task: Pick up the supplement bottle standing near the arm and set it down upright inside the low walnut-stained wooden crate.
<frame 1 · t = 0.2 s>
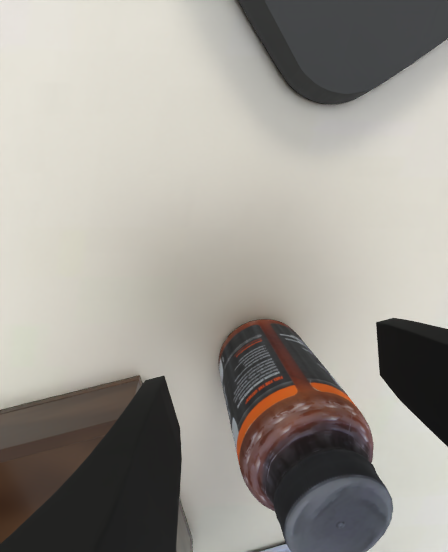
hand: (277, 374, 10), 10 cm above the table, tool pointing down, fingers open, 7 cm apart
crate: (76, 489, 22), on the table
supplement bottle: (259, 354, 21), on the table
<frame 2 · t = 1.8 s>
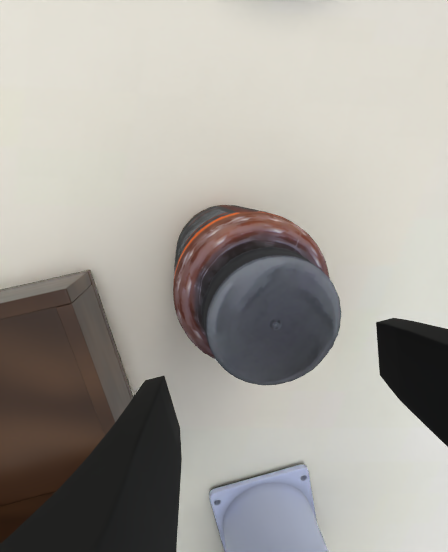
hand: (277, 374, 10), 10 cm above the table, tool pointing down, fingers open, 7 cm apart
crate: (25, 403, 20), on the table
supplement bottle: (223, 251, 20), on the table
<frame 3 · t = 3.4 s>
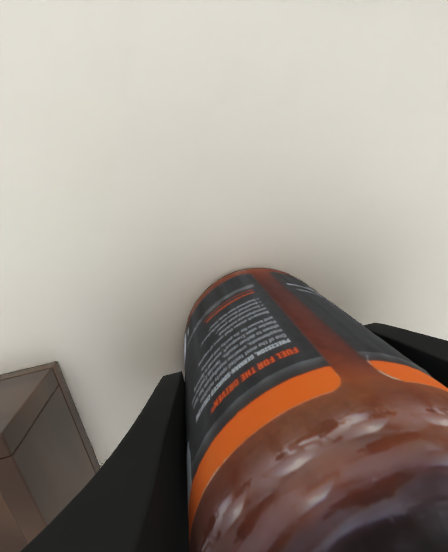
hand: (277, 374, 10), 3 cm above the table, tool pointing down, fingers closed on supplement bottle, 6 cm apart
supplement bottle: (252, 329, 13), on the table, touching gripper
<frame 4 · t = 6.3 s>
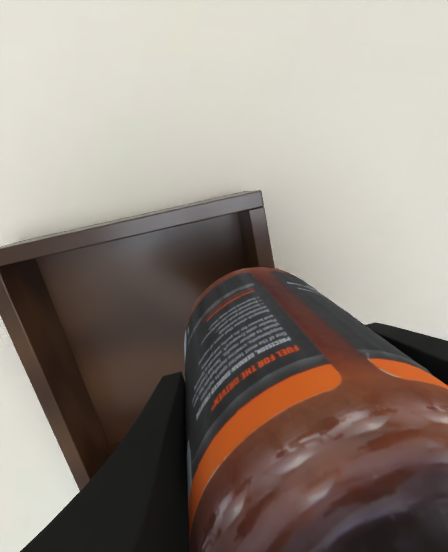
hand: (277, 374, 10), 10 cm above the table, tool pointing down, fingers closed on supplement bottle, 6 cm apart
crate: (168, 332, 20), on the table
supplement bottle: (252, 328, 13), point 7 cm above the table, touching gripper
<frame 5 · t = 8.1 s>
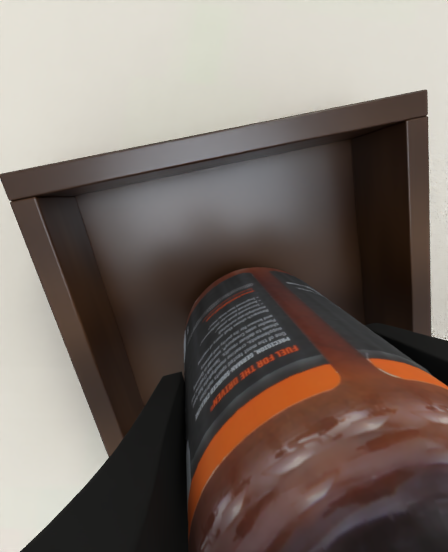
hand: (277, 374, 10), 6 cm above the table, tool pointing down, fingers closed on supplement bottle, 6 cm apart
crate: (244, 311, 15), on the table
supplement bottle: (251, 328, 13), point 2 cm above the table, touching gripper
when the fingers open (4 cm above the table, at t = 9.3 s): supplement bottle stays where it is, resting on crate.
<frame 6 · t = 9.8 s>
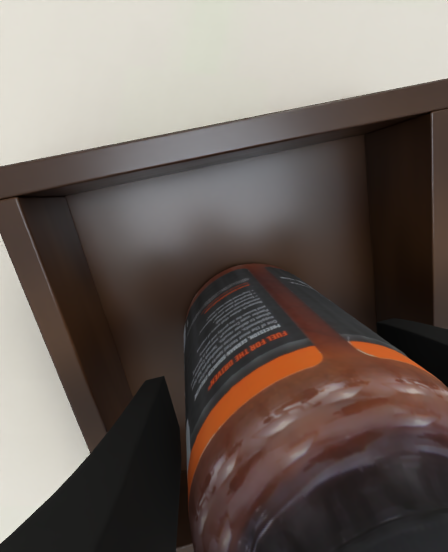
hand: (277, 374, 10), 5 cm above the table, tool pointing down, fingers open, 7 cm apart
crate: (248, 320, 14), on the table
supplement bottle: (248, 322, 14), resting on crate
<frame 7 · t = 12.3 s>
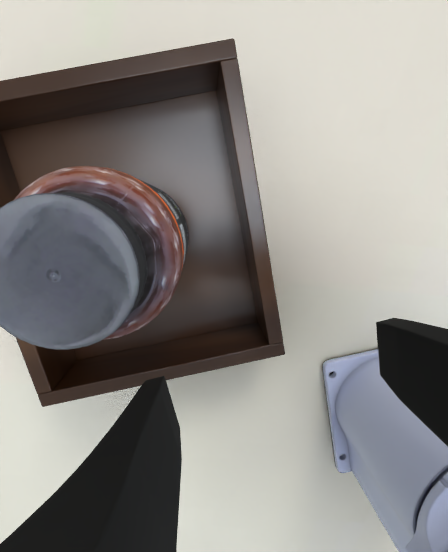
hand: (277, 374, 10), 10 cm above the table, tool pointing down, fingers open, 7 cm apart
crate: (143, 234, 19), on the table
supplement bottle: (140, 234, 19), resting on crate
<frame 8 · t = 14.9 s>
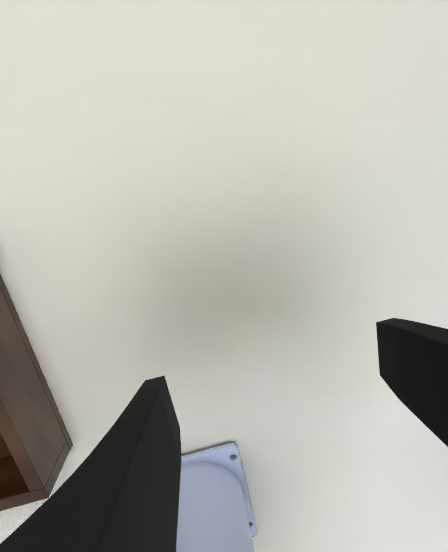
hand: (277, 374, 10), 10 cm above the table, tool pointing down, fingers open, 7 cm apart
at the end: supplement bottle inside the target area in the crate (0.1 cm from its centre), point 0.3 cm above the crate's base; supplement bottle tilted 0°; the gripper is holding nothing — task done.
